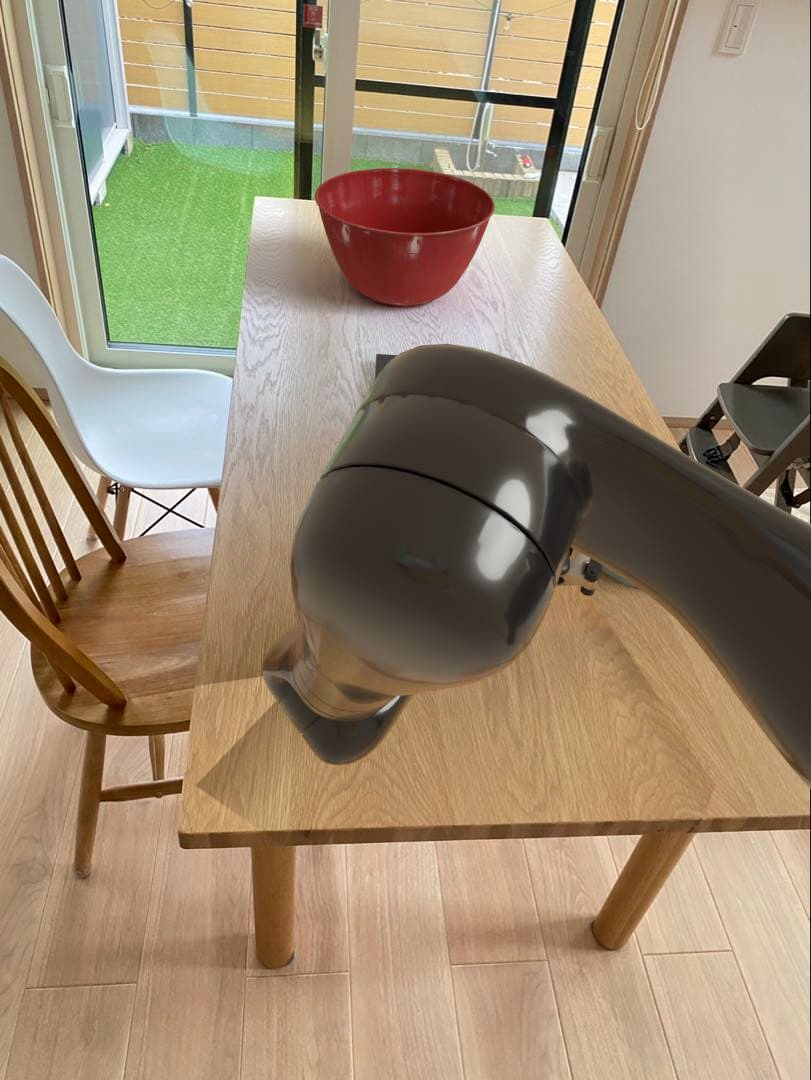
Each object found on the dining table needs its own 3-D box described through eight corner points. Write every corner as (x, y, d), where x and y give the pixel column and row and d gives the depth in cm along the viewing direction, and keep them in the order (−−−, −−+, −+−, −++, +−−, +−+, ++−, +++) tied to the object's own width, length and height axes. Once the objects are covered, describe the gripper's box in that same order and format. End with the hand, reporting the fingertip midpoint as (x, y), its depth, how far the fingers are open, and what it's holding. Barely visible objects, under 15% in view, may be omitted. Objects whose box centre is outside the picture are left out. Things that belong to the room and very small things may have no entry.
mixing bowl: (330, 333, 120) (331, 233, 110) (304, 257, 141) (302, 166, 130) (503, 325, 127) (519, 229, 116) (454, 252, 147) (464, 165, 136)
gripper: (554, 601, 60) (671, 509, 70) (423, 509, 67) (546, 437, 77) (535, 663, 65) (647, 569, 75) (416, 572, 72) (532, 497, 82)
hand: (595, 503), depth 76 cm, fingers closed on salt shaker, 3 cm apart
